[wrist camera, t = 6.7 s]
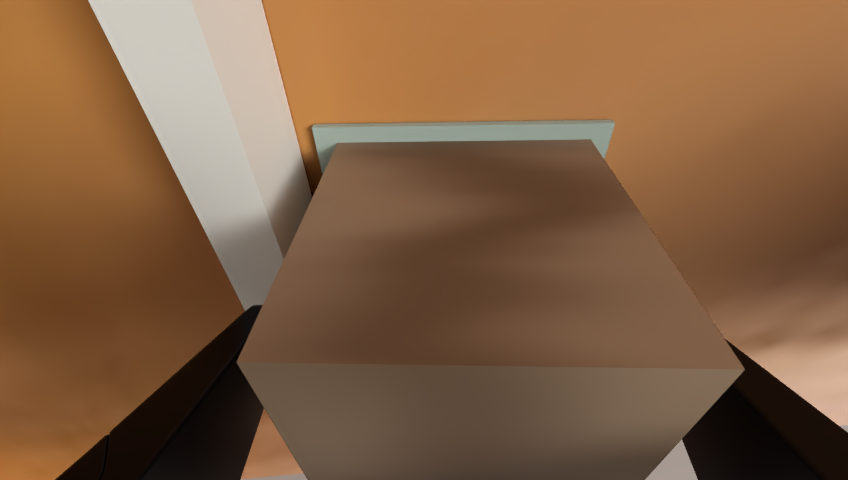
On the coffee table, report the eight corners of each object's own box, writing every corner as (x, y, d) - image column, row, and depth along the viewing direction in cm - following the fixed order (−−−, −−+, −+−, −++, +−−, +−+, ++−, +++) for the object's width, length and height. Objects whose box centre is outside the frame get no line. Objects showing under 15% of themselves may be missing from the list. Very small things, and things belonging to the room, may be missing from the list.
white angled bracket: (971, -128, 6) (1208, -147, 4) (657, 364, 15) (688, 429, 13) (153, -93, 7) (40, -96, 5) (317, 359, 16) (300, 421, 14)
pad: (612, 119, 9) (615, 123, 9) (555, 314, 13) (556, 319, 13) (313, 124, 9) (311, 127, 9) (355, 312, 14) (354, 317, 14)
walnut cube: (590, 139, 9) (744, 369, 4) (546, 307, 13) (604, 523, 8) (337, 142, 9) (236, 361, 5) (368, 305, 13) (328, 514, 9)
